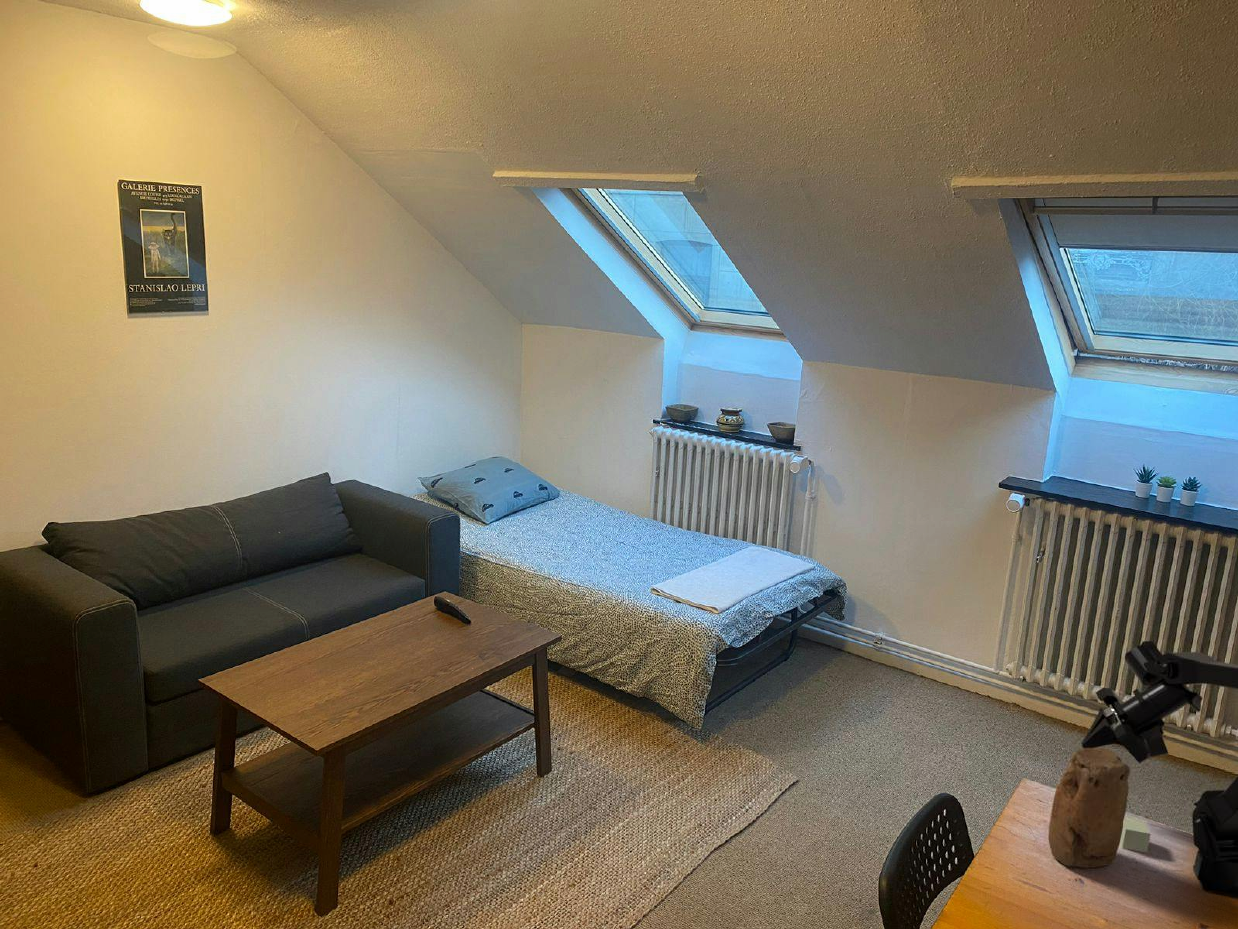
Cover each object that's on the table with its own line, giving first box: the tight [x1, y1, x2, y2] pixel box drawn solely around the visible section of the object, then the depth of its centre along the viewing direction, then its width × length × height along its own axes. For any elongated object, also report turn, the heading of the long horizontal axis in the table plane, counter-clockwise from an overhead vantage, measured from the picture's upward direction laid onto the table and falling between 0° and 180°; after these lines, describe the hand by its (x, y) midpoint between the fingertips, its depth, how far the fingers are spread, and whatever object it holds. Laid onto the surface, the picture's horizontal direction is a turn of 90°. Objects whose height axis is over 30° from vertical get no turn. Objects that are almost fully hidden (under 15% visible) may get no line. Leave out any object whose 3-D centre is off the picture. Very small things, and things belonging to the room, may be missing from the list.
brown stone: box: [1047, 747, 1131, 868], centre depth 161 cm, size 11×8×20 cm
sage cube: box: [1120, 816, 1151, 853], centre depth 167 cm, size 4×4×4 cm
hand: (1083, 746), depth 176 cm, fingers closed
